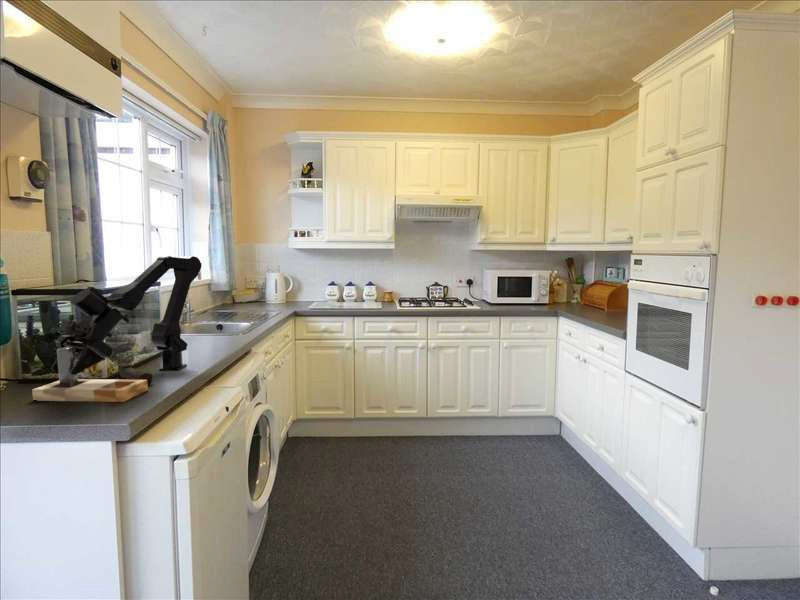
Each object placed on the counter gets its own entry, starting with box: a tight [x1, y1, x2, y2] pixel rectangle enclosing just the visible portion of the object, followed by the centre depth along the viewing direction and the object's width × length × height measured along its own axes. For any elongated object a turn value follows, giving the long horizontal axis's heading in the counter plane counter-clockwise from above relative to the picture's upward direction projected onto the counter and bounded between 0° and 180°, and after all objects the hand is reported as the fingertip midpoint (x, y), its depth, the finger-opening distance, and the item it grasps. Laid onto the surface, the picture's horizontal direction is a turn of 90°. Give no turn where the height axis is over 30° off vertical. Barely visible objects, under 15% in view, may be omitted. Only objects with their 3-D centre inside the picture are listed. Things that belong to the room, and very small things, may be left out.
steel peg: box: [56, 347, 79, 388], centre depth 119 cm, size 4×4×13 cm
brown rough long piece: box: [117, 362, 153, 386], centre depth 134 cm, size 19×4×5 cm, turn 50°
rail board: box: [31, 378, 149, 403], centre depth 119 cm, size 10×25×3 cm, turn 87°
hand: (62, 372), depth 118 cm, fingers open, 9 cm apart
